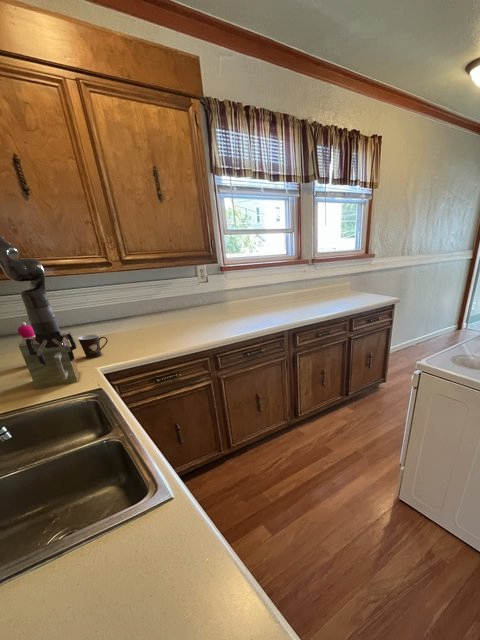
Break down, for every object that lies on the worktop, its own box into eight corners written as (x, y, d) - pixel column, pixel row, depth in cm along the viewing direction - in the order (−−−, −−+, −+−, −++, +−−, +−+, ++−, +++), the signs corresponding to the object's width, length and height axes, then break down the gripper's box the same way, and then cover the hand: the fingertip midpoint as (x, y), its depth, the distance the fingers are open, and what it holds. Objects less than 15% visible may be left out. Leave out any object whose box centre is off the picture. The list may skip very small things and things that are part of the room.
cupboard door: (77, 388, 129) (61, 344, 121) (33, 395, 123) (14, 350, 115) (78, 381, 135) (63, 339, 127) (36, 388, 129) (19, 345, 121)
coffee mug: (83, 360, 158) (76, 340, 153) (85, 355, 165) (79, 335, 160) (109, 357, 162) (104, 337, 157) (111, 352, 169) (106, 333, 164)
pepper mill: (47, 360, 157) (31, 319, 148) (50, 364, 153) (34, 322, 144) (28, 364, 153) (11, 322, 144) (31, 368, 148) (13, 324, 139)
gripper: (67, 315, 121) (81, 356, 129) (19, 319, 115) (37, 362, 122) (65, 319, 115) (80, 362, 123) (15, 324, 109) (34, 369, 117)
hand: (58, 362), depth 123 cm, fingers open, 8 cm apart
